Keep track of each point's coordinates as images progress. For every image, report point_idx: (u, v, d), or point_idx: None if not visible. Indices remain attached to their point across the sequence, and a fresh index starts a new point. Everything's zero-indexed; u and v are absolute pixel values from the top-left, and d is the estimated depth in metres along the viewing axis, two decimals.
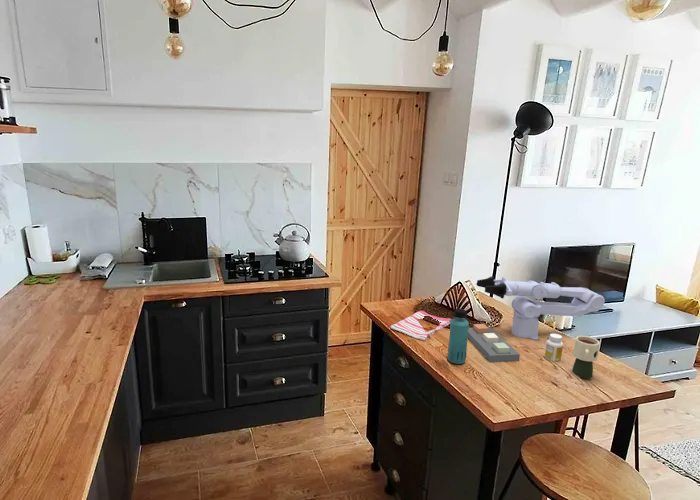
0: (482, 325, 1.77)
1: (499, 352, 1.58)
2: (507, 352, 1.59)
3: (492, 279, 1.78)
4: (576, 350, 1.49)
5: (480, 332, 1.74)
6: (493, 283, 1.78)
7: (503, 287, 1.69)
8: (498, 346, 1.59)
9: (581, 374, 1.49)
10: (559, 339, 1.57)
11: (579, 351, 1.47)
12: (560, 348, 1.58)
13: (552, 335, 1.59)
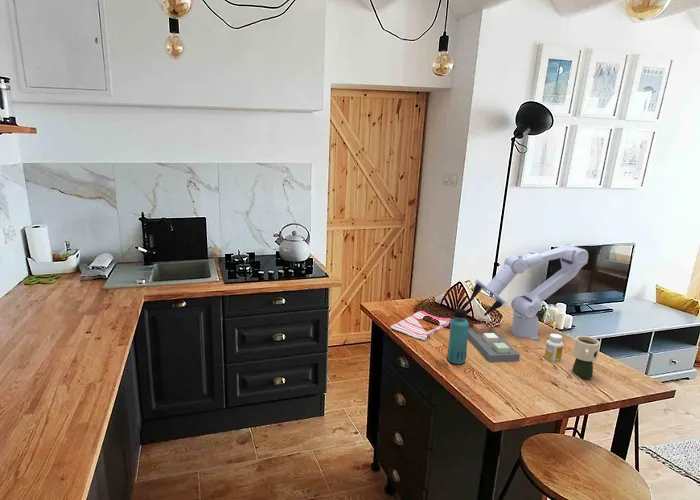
0: (482, 325, 1.77)
1: (499, 352, 1.58)
2: (507, 352, 1.59)
3: (479, 290, 1.74)
4: (576, 350, 1.49)
5: (480, 332, 1.74)
6: (480, 289, 1.75)
7: (499, 306, 1.70)
8: (498, 346, 1.59)
9: (581, 374, 1.49)
10: (559, 339, 1.57)
11: (579, 351, 1.47)
12: (560, 348, 1.58)
13: (552, 335, 1.59)
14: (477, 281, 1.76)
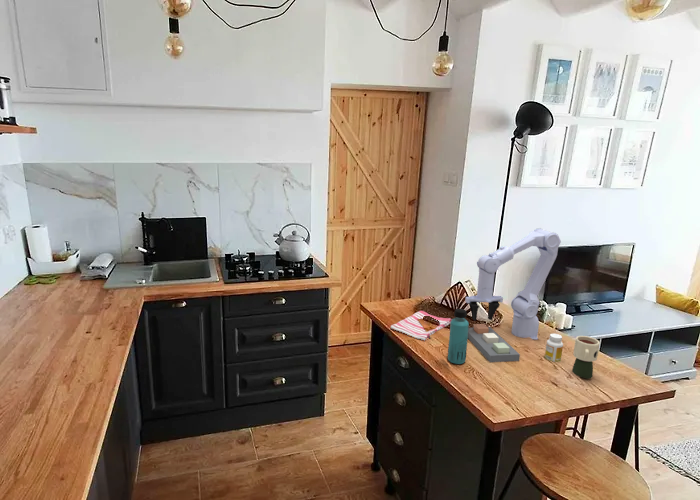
0: (482, 325, 1.77)
1: (499, 352, 1.58)
2: (507, 352, 1.59)
3: None
4: (576, 350, 1.49)
5: (480, 332, 1.74)
6: None
7: None
8: (498, 346, 1.59)
9: (581, 374, 1.49)
10: (559, 339, 1.57)
11: (579, 351, 1.47)
12: (560, 348, 1.58)
13: (552, 335, 1.59)
14: (469, 300, 1.72)
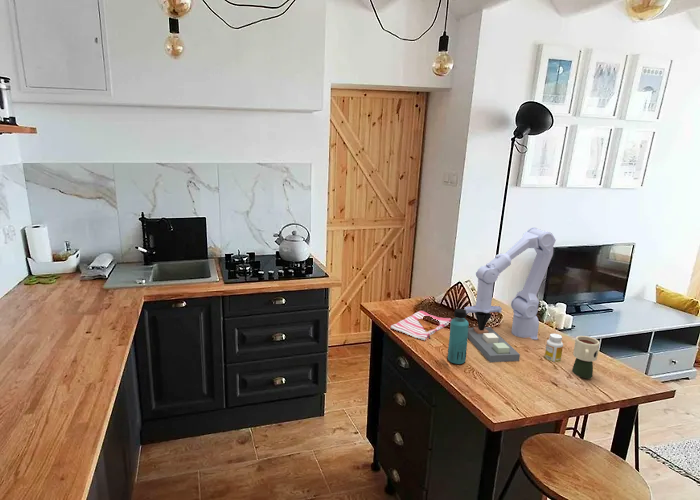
0: None
1: (499, 352, 1.58)
2: (507, 352, 1.59)
3: None
4: (576, 350, 1.49)
5: None
6: None
7: None
8: (498, 346, 1.59)
9: (581, 374, 1.49)
10: (559, 339, 1.57)
11: (579, 351, 1.47)
12: (560, 348, 1.58)
13: (552, 335, 1.59)
14: (468, 310, 1.73)
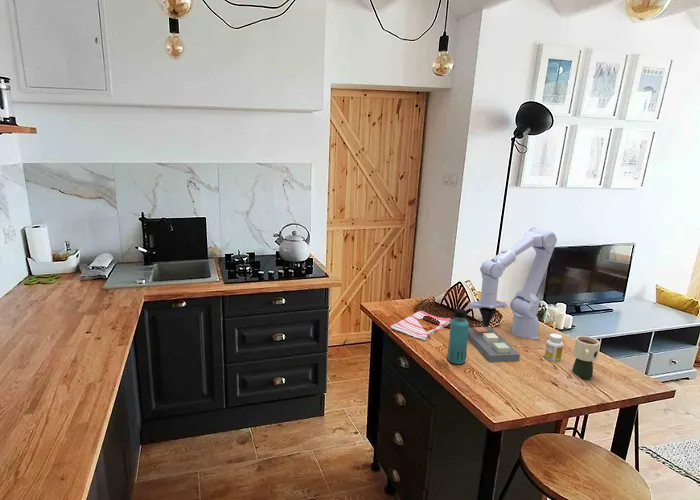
0: (482, 328, 1.77)
1: (499, 352, 1.58)
2: (507, 352, 1.59)
3: None
4: (576, 350, 1.49)
5: None
6: None
7: None
8: (498, 346, 1.59)
9: (581, 374, 1.49)
10: (559, 339, 1.57)
11: (580, 351, 1.47)
12: (560, 348, 1.58)
13: (552, 335, 1.59)
14: (472, 306, 1.69)
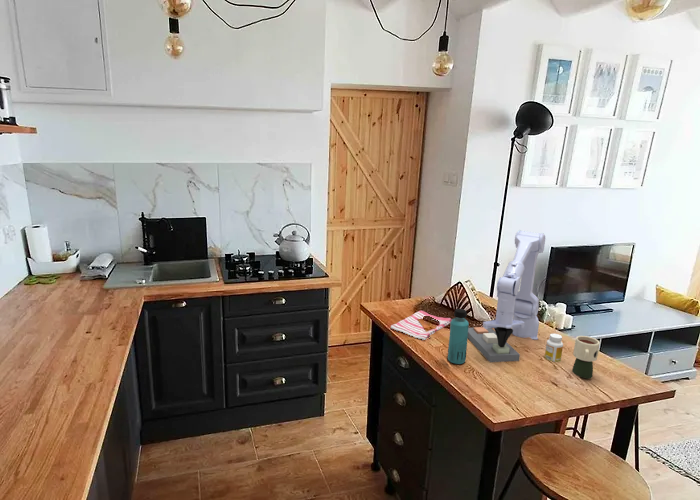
0: (482, 328, 1.77)
1: (499, 353, 1.58)
2: (507, 353, 1.59)
3: None
4: (576, 350, 1.49)
5: None
6: None
7: None
8: (498, 347, 1.59)
9: (581, 374, 1.49)
10: (559, 339, 1.57)
11: (579, 351, 1.47)
12: (560, 348, 1.58)
13: (552, 335, 1.59)
14: (487, 325, 1.56)
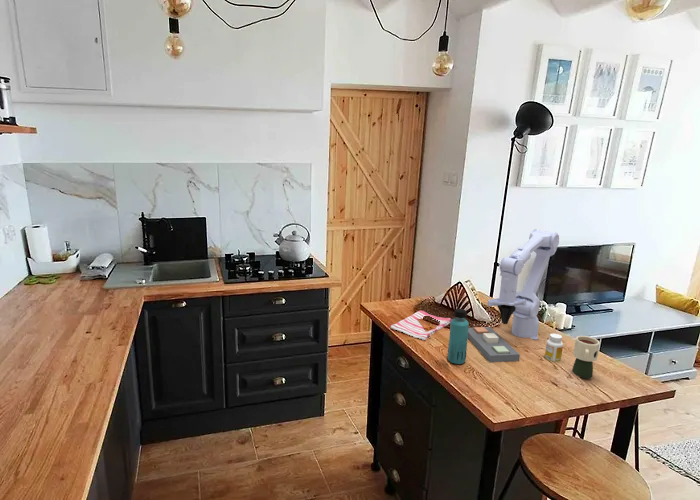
0: (482, 328, 1.77)
1: None
2: None
3: None
4: (576, 350, 1.49)
5: None
6: None
7: None
8: (498, 349, 1.59)
9: (581, 374, 1.49)
10: (559, 339, 1.57)
11: (579, 351, 1.47)
12: (560, 348, 1.58)
13: (552, 335, 1.59)
14: (491, 303, 1.66)
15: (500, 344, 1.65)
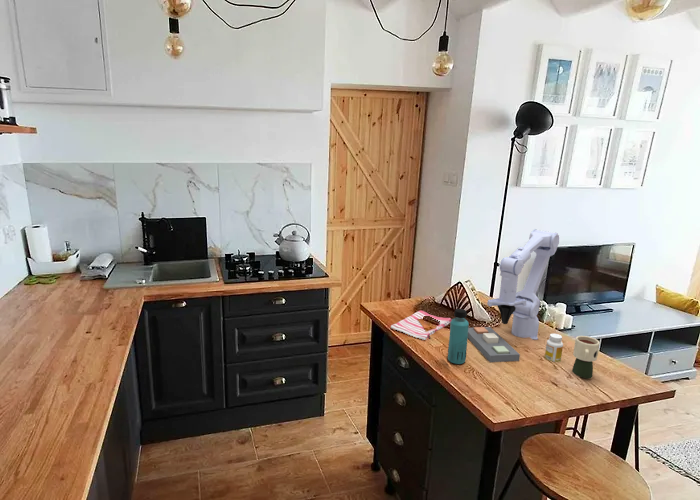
0: (482, 328, 1.77)
1: None
2: None
3: None
4: (576, 350, 1.49)
5: None
6: None
7: None
8: (498, 349, 1.59)
9: (581, 374, 1.49)
10: (559, 339, 1.57)
11: (579, 351, 1.47)
12: (560, 348, 1.58)
13: (552, 335, 1.59)
14: (491, 303, 1.66)
15: (500, 344, 1.65)
